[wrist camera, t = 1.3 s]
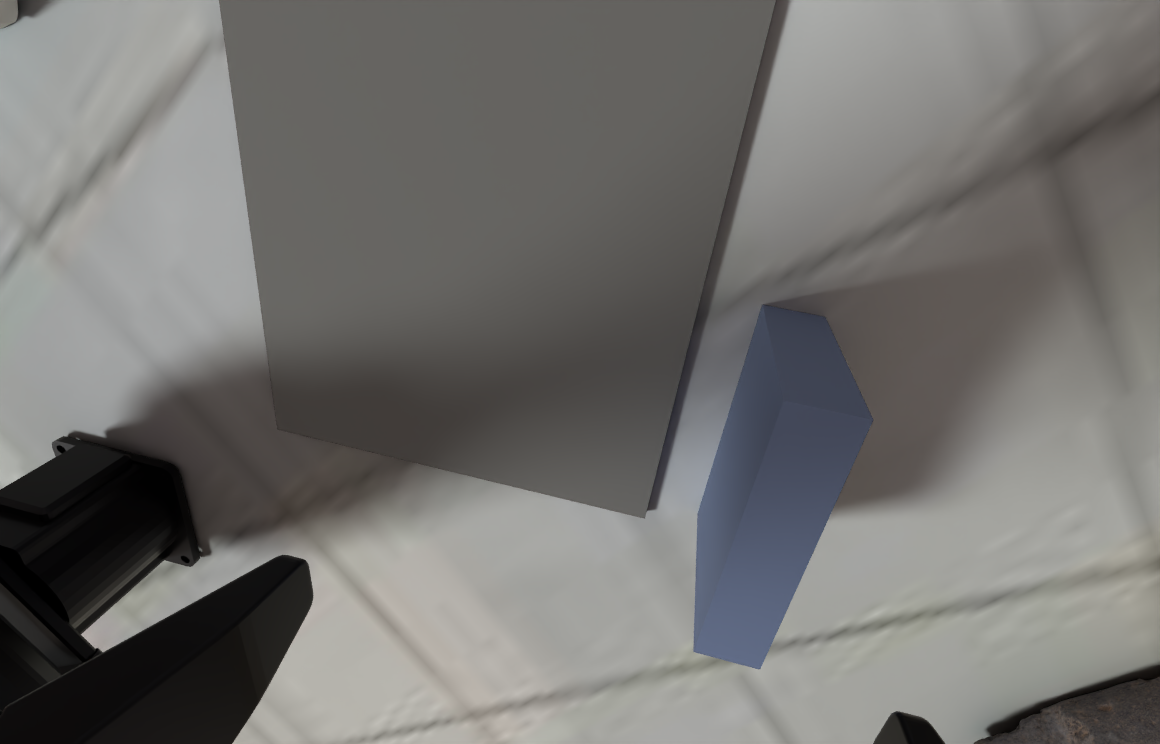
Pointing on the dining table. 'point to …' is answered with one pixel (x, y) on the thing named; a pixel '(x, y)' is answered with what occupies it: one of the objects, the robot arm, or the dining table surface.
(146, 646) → the robot arm
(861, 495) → the dining table surface
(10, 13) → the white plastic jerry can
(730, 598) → the blue flat angular block
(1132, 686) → the perforated stone tool
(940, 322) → the dining table surface
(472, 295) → the mat
